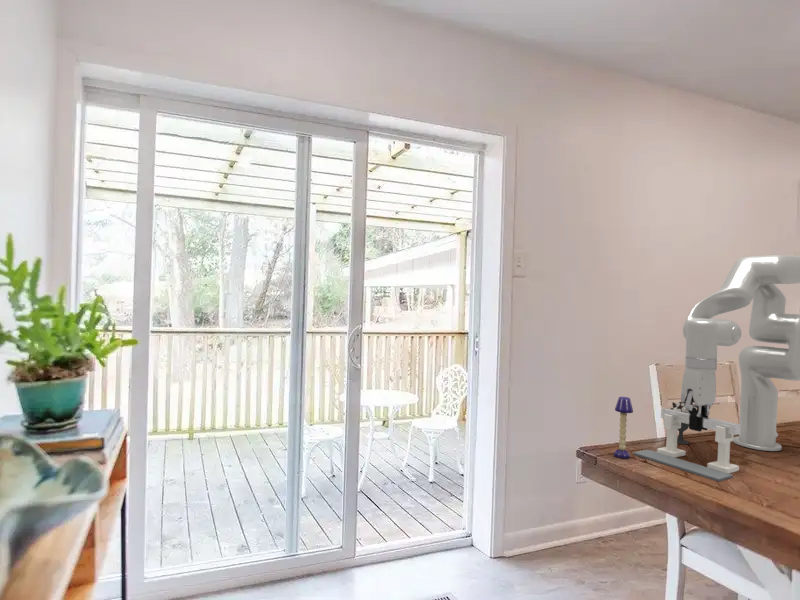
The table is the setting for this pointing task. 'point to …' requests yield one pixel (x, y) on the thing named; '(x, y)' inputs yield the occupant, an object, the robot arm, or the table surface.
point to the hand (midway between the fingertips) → (698, 429)
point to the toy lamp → (623, 425)
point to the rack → (672, 451)
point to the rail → (703, 421)
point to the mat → (684, 465)
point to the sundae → (684, 426)
